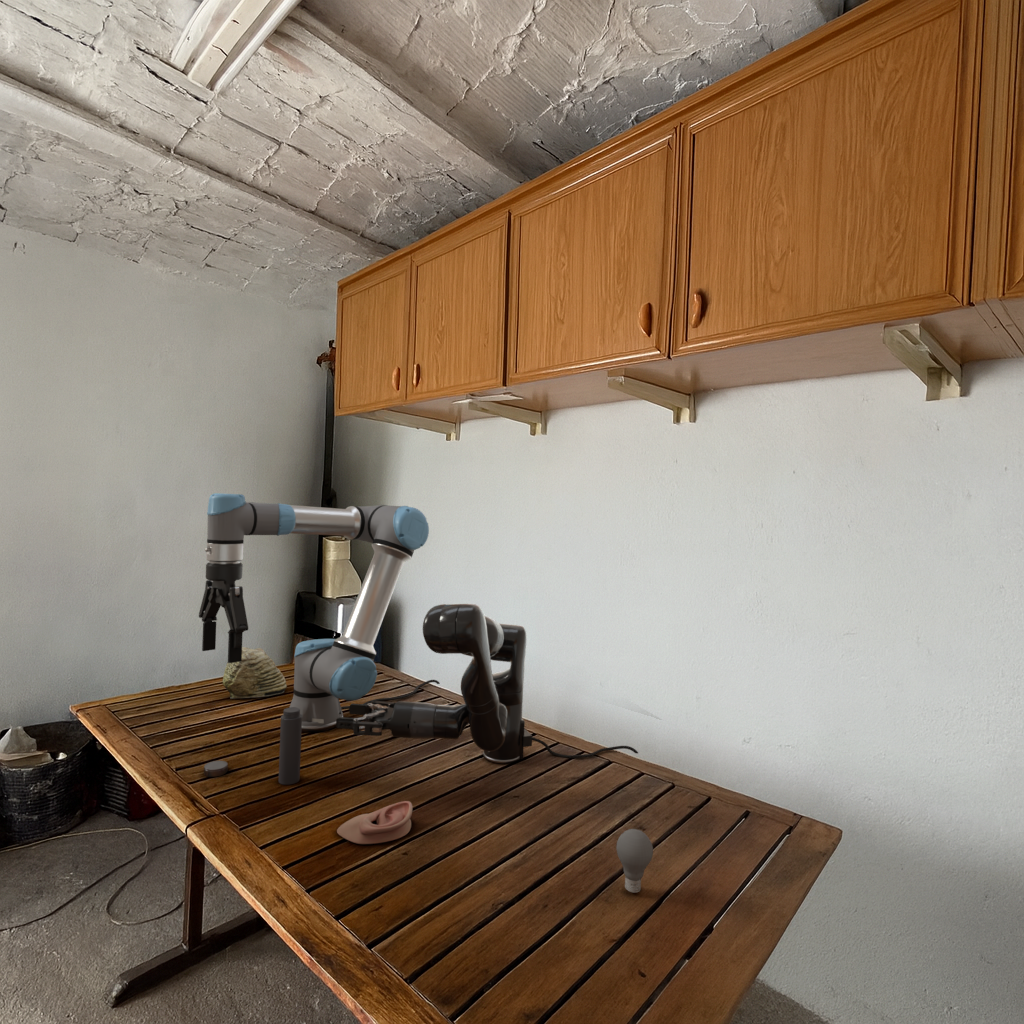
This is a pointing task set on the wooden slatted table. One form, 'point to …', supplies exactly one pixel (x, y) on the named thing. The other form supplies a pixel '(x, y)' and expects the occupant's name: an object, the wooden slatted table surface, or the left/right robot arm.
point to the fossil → (253, 676)
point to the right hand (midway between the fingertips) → (343, 715)
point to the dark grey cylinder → (290, 746)
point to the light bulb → (634, 857)
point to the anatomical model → (379, 825)
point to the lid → (215, 768)
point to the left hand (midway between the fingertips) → (221, 656)
